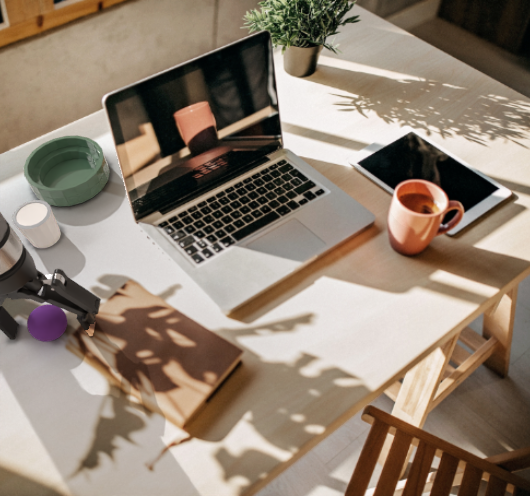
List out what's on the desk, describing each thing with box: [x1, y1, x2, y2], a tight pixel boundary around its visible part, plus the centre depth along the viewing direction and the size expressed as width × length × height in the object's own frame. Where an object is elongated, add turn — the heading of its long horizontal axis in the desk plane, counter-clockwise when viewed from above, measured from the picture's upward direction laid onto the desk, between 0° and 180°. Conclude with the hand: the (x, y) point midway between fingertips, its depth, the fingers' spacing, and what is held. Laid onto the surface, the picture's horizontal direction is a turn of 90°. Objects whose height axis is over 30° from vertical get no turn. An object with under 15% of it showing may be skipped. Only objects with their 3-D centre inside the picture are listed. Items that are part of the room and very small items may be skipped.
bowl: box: [23, 135, 111, 207], centre depth 101 cm, size 16×16×5 cm
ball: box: [26, 303, 68, 343], centre depth 80 cm, size 6×6×6 cm
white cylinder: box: [11, 199, 62, 249], centre depth 92 cm, size 7×7×7 cm
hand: (53, 330), depth 83 cm, fingers open, 12 cm apart
